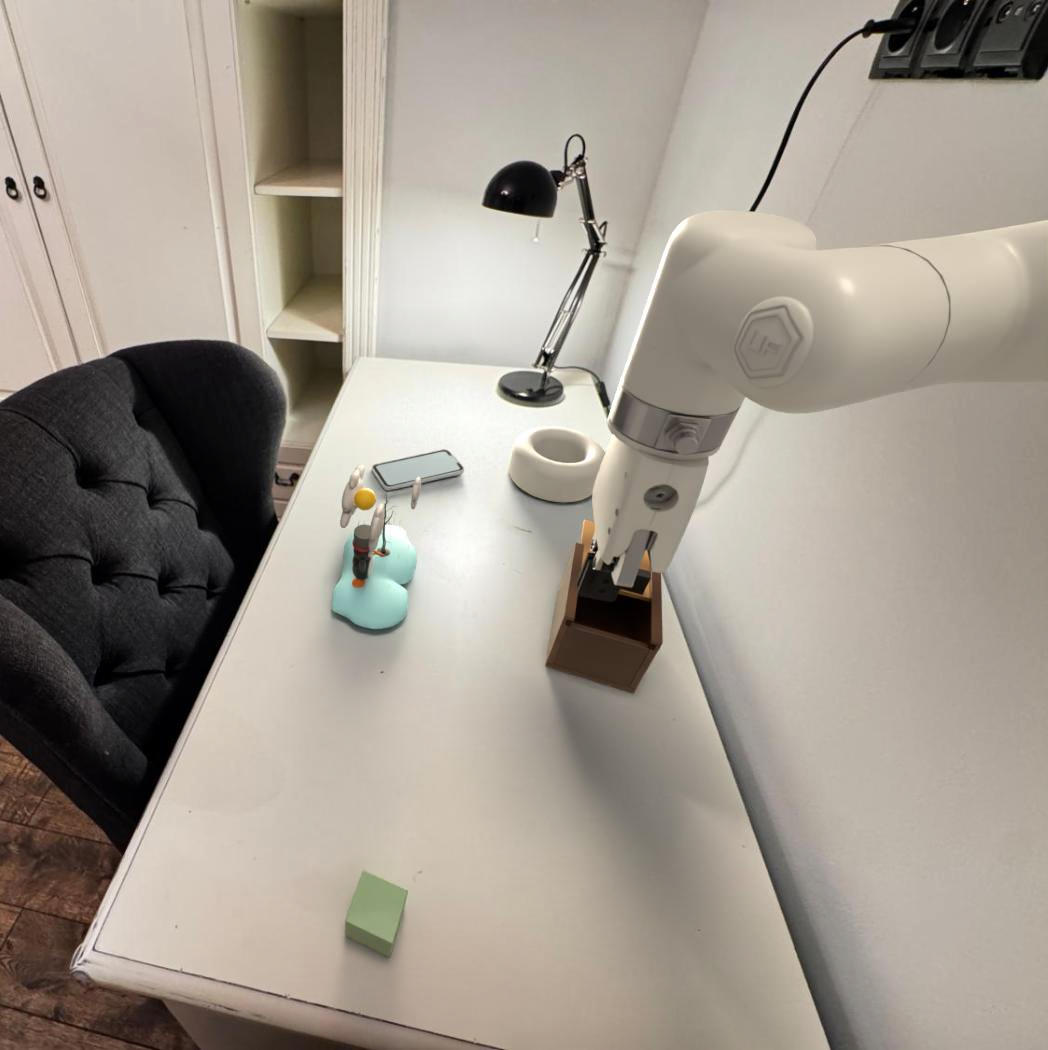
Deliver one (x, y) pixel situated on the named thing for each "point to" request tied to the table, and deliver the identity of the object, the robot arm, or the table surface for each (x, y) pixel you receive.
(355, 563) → the penguin figurine
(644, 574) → the lid
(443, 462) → the smartphone
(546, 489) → the fat ring
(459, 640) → the table surface
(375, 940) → the block
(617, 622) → the box
